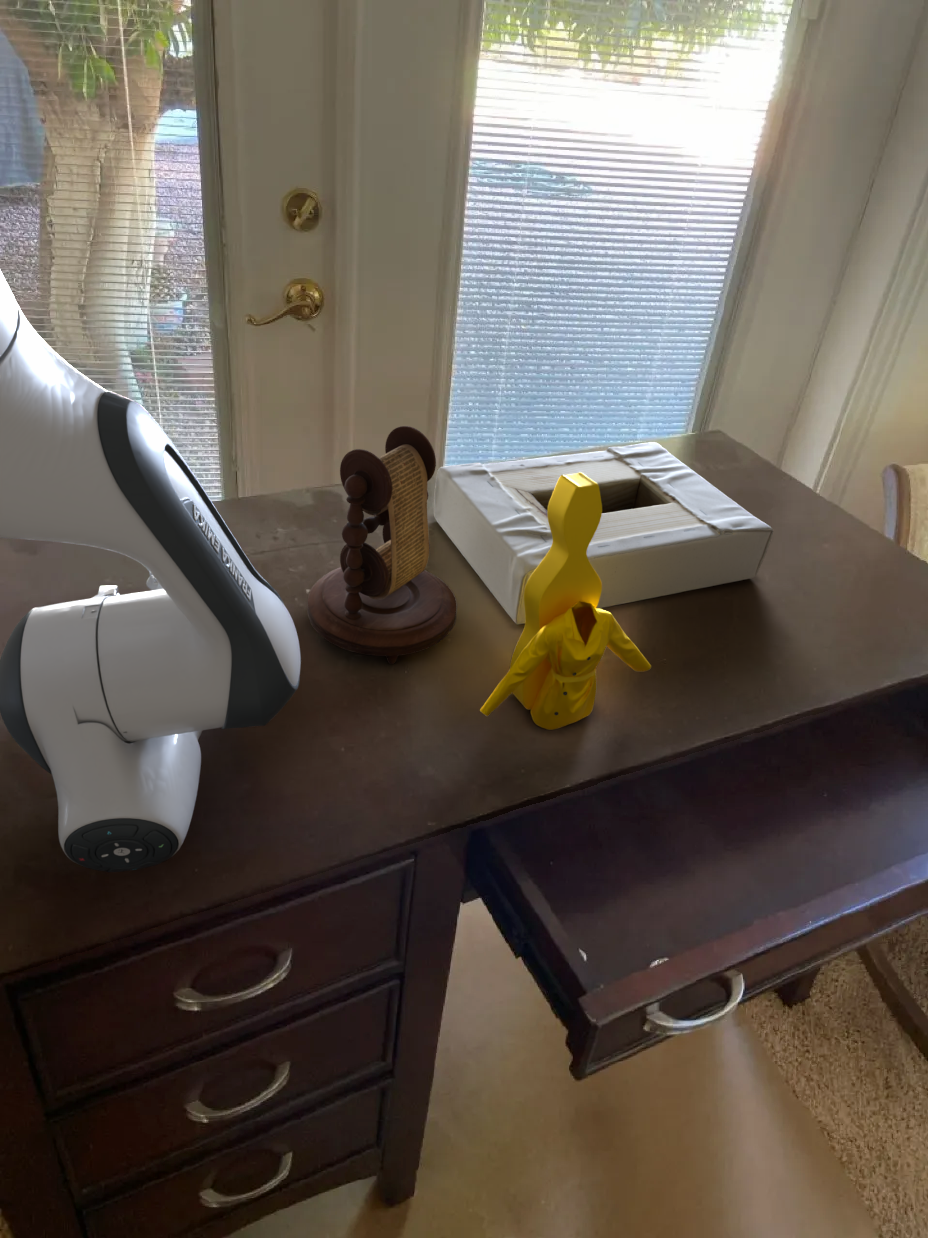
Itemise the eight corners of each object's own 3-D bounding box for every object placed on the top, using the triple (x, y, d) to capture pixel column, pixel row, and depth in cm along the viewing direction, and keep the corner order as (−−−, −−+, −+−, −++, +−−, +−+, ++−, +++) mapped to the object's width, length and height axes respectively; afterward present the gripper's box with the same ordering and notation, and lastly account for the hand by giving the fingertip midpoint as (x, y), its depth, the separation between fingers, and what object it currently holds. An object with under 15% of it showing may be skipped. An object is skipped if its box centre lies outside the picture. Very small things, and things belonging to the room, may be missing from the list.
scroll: (397, 689, 81) (409, 496, 70) (276, 627, 87) (268, 439, 75) (482, 616, 92) (505, 437, 80) (368, 565, 98) (374, 391, 86)
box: (517, 632, 90) (760, 579, 103) (525, 567, 86) (779, 520, 98) (428, 523, 107) (646, 489, 120) (432, 465, 103) (658, 436, 115)
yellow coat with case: (488, 757, 75) (522, 534, 62) (447, 700, 81) (470, 484, 68) (654, 706, 83) (716, 498, 70) (607, 657, 88) (655, 455, 75)
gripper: (283, 654, 70) (281, 559, 81) (1, 664, 66) (40, 562, 77) (285, 714, 73) (283, 615, 84) (18, 726, 69) (52, 621, 80)
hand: (165, 590), depth 80 cm, fingers open, 8 cm apart
